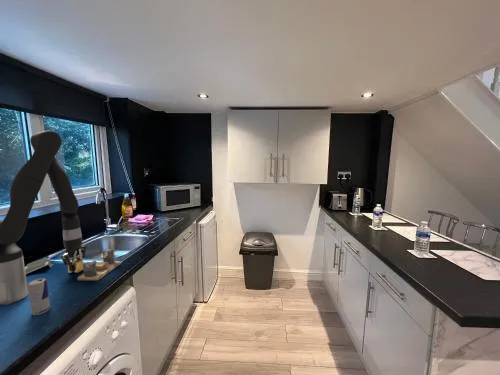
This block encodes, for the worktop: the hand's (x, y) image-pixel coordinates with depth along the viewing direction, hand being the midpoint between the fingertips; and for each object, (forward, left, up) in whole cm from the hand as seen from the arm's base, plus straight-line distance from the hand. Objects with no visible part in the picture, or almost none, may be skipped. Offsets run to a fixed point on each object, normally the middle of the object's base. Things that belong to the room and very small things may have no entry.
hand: (76, 269), depth 122 cm
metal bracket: (+2, +24, -2) cm, 24 cm away
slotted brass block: (0, 0, -1) cm, 1 cm away
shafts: (0, -13, +4) cm, 13 cm away
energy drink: (-32, -12, -1) cm, 34 cm away
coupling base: (0, -13, -1) cm, 13 cm away
